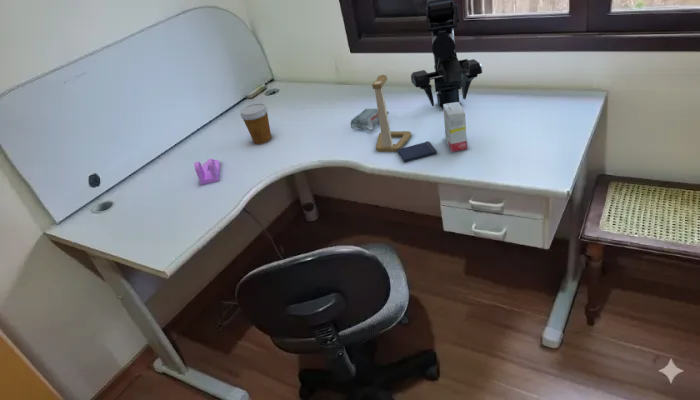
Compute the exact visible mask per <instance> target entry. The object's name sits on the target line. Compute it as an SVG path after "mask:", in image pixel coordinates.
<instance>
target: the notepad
mask: <svg viewBox="0 0 700 400" xmlns="http://www.w3.org/2000/svg"><path fill="white" fill-rule="evenodd" d="M397 153H398V155H399V157H400V158H401V160H402V161H403V163H409V162H412V161H416V160H420V159H424V158H427V157H431V156H435V155H438V150H437V149H435V147H434V146H433V144H432V143H431V141H429V140H427V141H424V142H420V143H417V144H413V145H410V146H406V147H405V146H404V147H402V148H401V149H398V152H397Z"/></svg>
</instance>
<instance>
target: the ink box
mask: <svg viewBox="0 0 700 400" xmlns="http://www.w3.org/2000/svg"><path fill="white" fill-rule="evenodd" d="M459 102H460V101H459ZM459 102H455V103H448V104H443V109H442V110H443V122H444V123H443V124H444V137H445V142H446V143H447V146H448V147H449V149H450V151H451V153H454V152H459V151H465V150H468V138H467V122H466V112H465V110H464V109H463V106H461V105H462V104H461V105H460V103H461V102H460V103H459Z"/></svg>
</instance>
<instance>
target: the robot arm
mask: <svg viewBox="0 0 700 400" xmlns="http://www.w3.org/2000/svg"><path fill="white" fill-rule="evenodd" d="M425 1H426V4H427V5H425V18H426V20H425V21H426V31H427V32H431V38H432V40H431V50H432V55H433V60H434V61H433V62H434V66H433V68H434V71H431V72H427V71H426V70H425V69H423V70H418V71H413V72H412V73H411V74H410V80H411V83H412V84H413V85H414V87H415V88H419V89H420V90H423V91H424V93H425V94H426V96H427V99H428V101H429V103H430V105H431V106H432V107H435V102H434V101H435V100H434V96H433V95H434V94H433V90H432V87H433V86H432V85H431V80H433V82H434V90H435V93H436V101H437V102H436V103H437V106H438V107H439V108H440V109H442V110H443V104H448V103H455V102H459V103H460V105H461V107H463V106H462V103H461V102H460V90H461V94H462V99H463V100H466V99H467V96H468V92H469V90H470V87H471V83H472V81H473V80H474V79H475V78H478V76H479V75H481V74H483V66H482V63H480V62H479V61H478V60H476V59H474V58H472V59H468V58H465V59H460V60H459V59H458V55H457V51H456V42H455V32H454V30H455V29H454V28H458V24H460V13H459V5H458V4H457V2H456V1H455V0H454V1H453V0H425Z"/></svg>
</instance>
